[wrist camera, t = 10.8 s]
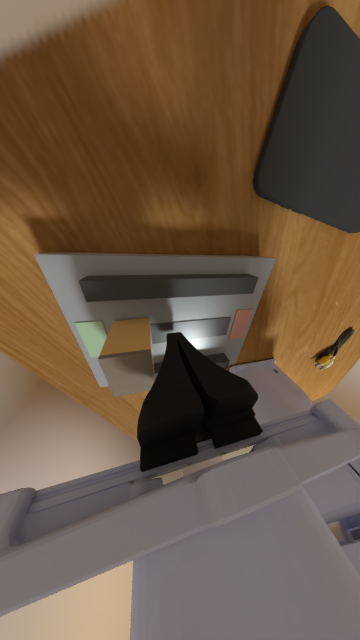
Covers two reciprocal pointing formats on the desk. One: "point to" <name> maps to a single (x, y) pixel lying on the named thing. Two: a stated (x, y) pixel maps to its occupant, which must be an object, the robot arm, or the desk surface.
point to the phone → (317, 128)
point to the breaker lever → (128, 357)
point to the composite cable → (333, 350)
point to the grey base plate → (156, 301)
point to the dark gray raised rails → (167, 291)
